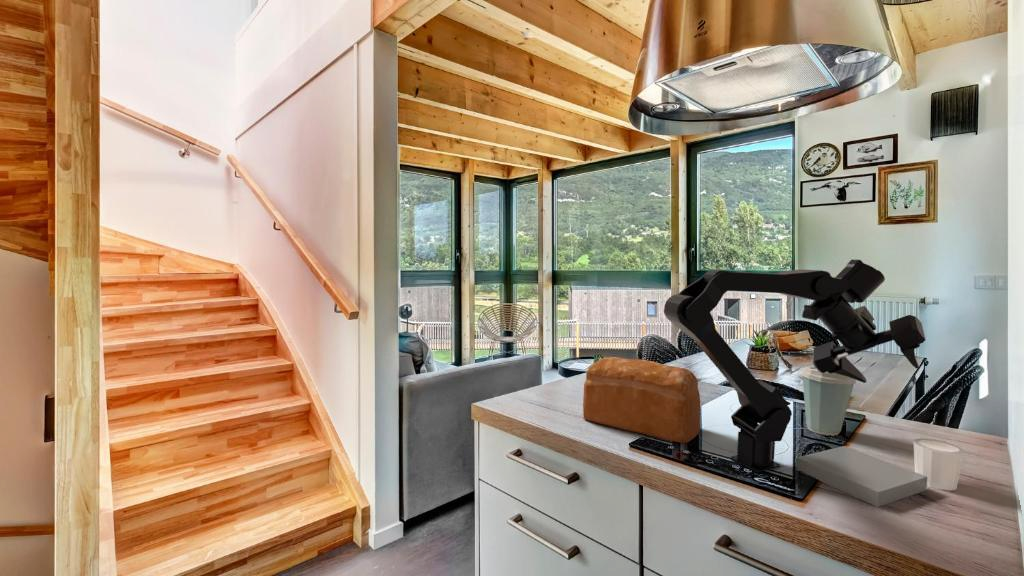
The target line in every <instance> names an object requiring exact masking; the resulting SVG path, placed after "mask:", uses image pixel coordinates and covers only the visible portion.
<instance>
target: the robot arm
mask: <svg viewBox="0 0 1024 576" xmlns="http://www.w3.org/2000/svg"><path fill="white" fill-rule="evenodd" d="M885 280H886V279H885V275H884V274H883V273H882V272H881V271H880V270H879V269H876V268H875V267H873V266H871V265H869V264H866V263H865V262H863V260H861V259H850V261H848V262H847V263H846V265H845V266H844V268H843V269H842V270H841V271H840V272H839V273H838V274H837V275H836V276H835V277H834V276H832V274H831V273H830V272H829V271H825V270H821V269H802V268H801V269H800V268H799V269H793V270H786V271H785V270H784V271H782V272H775V273H774V272H773V273H767V272H764V273H763V272H746V271H745V272H744V271H727V270H725V269H724V270H723V269H710V270H707V272H705V273H704V274H703V275H702V276H700V278H699V279H697V280H695V281H694V282H692V283H691V284H689V285H688V286H686V287H684V288H683V289H682V290H681V291H680V292H679V293H677V294H673V295H671V296H670V297H668V298H667V300H666V301H665V304H664V307H663V314H664V316H665V317H666V319H668V321H669V322H670V323H672V324H673V325H674V326H675V327H676V328H677V329H679V330H681V332H683V333H685V334H686V335H687V336H688V337H690V338H691V339H693V340H694V342H695V343H696V344H697V345H698V347H699V348H700V349H701V350H702V351H703V353H704V354H705V355H706V356H707V357H708V358H709V360H710V361H711V363H712V364H713V365H714V366H715V367H716V369H718V371H719V372H720V373H721V375H723V377H724V378H725V379H726V380H727V381H728V383H729V384H730V385H731V387H732V388H733V389H734V390H735V392H736V395H737V399H738V401H739V404H740V406H739V407H738V409H737V410H736V411H735V412H733V414H731V416H730V418H731V421H732V424H733V426H735V427H737V428H738V429H740V430H739V431H738V432H737V451H736V452H737V453H736V454H735V455H732V456H730V457H729V459H730V460H731V461H733V462H735V463H738V464H739V465H741V466H743V467H745V468H747V469H750V470H751V471H753V470H754V471H753V472H755V471H756V472H755V473H761V471H763V472H765V471H766V470H767V471H770V470H774V469H778V468H781V464H780V463H778V462H777V461H774V460H775V450H776V449H775V447H776V442H781V441H782V440H783V437H784V435H785V433H786V430H787V427H788V425H789V423H790V422H791V417H792V416H793V413H792V410H791V408H790V407H789V405H791V402H789V401H788V400H787V399H785V397H784V396H783V394H782V392H781V391H780V390H779V388H778V387H775V386H773V385H771V384H769V383H768V382H764V381H763V380H760V379H758V380H757V379H756V378H755V376H754V375H753V374H752V373H751V371H750V370H749V369H748V367H747V366H746V365H745V364H744V362H743V361H742V360H741V359H740V358H739V356H738V355H737V354H736V352H735V351H734V350H733V349H732V348H731V346H730V345H729V344H728V343H727V341H726V340H725V339H724V337H722V336H721V334H720V333H719V332H718V330H717V328H716V325H715V319H714V317H713V315H712V313H711V312H712V311H713V310H714V309H715V308H716V307H717V306H718V304H719V303H720V301H721V299H722V298H723V297H724V295H725V294H726V293H727V292H728V291H730V292H731V291H732V292H750V293H751V292H752V293H753V292H754V293H773V294H774V293H776V294H779V295H784V296H788V297H792V298H797V299H804V300H810V301H812V302H811V303H810V304H804V305H803V311H802V314H801V317H802V318H803V319H806V320H810V321H811V320H812V321H817V320H820V322H822V324H823V325H824V326H825V327H826V328H827V329H828V330H829V332H830V333H831V334H832V335H831V337H832V338H833V340H834V341H839V342H840V344H841V346H837V345H836V344H835V343H834V342H832V341H829V342H827V343H823V344H821V345H817V346H815V347H813V350H812V365H813V366H815V368H816V369H817V370H818V371H819V372H820V373H825V372H828V373H830V374H831V373H836V374H840V375H843V376H847V377H850V378H853V379H855V380H856V381H858V382H860V383H863V384H865V383H867V378H866V377H865V376H864V374H863V373H862V372H861V371H860V370H859V369H858V368H857V367H856V366H855V365H854V364H853V363H852V362H851V361H850V360H849V359H848V358H847V357H849V356H852V355H855V354H859V353H862V352H864V351H867V350H870V349H871V348H875V347H876V346H880V345H882V344H887V343H889V342H892V341H894V343H895V344H896V345H897V346H898V347H899V349H900V352H901V353H902V355H903V356H904V357H905V358H906V359H907V361H908V362H909V363H910V364H911V365H912V367H914V368H915V369H917V370H918V369H919V368H920V367H919V362H918V360H917V356H916V353H915V349H918V348H919V347H920V346H921V344H923V343H924V342H925V341H926V336H925V332H924V328H923V323H922V321H920V319H919V318H918V317H917V316H916V315H912V314H907V315H904V316H901V317H899V318H897V319H894V320H890V321H888V323H889V329H886V330H883V331H882V330H881V331H880V332H875V331H876V330H877V326H876V324H875V322H874V321H875V318H874V316H873V315H872V314H871V312H870V310H868V308H867V306H865V305H863V306H859V307H856V308H854V307H853V306H852V305H851V304H855V303H861V304H862V303H864V302H865V301H866V300H867V299H868V298H869V297H870V296H871V295H872V294H873V293H874V292H875V291H876V290H877V289H878V288H879V287H881V285H882V284H883V283H884V282H885Z"/></svg>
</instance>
